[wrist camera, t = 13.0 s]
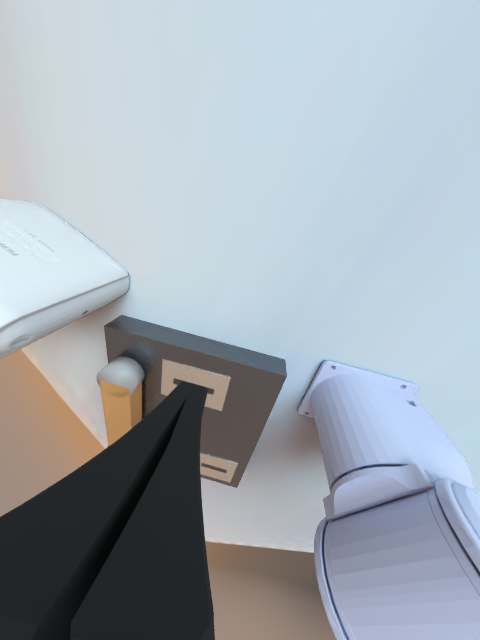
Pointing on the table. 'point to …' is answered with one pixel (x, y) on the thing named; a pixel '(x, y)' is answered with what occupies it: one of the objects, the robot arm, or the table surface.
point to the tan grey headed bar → (121, 396)
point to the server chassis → (209, 371)
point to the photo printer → (48, 274)
